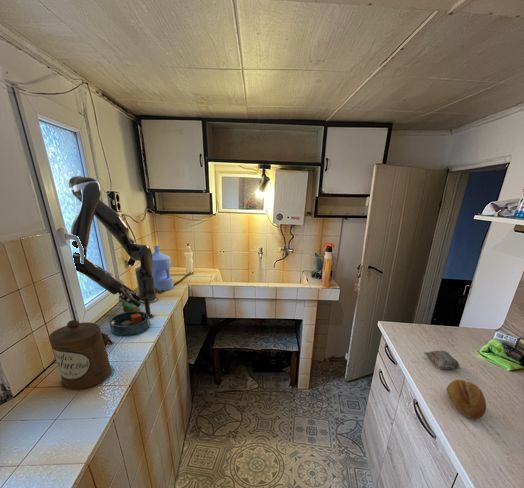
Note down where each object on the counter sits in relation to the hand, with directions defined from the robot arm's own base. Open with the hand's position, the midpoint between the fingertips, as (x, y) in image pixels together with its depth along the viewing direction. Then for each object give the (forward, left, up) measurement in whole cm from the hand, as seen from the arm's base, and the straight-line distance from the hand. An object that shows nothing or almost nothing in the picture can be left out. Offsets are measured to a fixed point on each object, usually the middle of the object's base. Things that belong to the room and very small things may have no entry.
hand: (139, 302), depth 144 cm
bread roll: (+66, +126, -9) cm, 143 cm away
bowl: (+12, -1, -9) cm, 15 cm away
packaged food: (+43, +134, -9) cm, 141 cm away
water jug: (-49, -4, -9) cm, 50 cm away
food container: (-8, -7, -9) cm, 14 cm away
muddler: (-1, +3, -9) cm, 9 cm away
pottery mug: (+31, -7, -9) cm, 33 cm away
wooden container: (+51, -1, -9) cm, 51 cm away
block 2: (+7, 0, -8) cm, 11 cm away
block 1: (+16, -1, -8) cm, 18 cm away
